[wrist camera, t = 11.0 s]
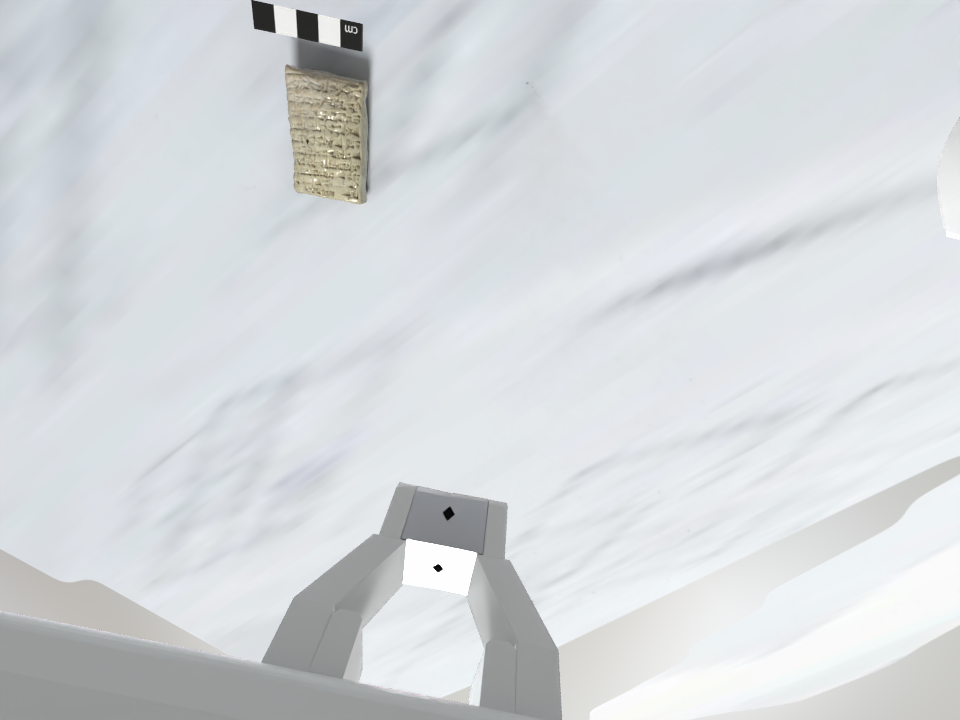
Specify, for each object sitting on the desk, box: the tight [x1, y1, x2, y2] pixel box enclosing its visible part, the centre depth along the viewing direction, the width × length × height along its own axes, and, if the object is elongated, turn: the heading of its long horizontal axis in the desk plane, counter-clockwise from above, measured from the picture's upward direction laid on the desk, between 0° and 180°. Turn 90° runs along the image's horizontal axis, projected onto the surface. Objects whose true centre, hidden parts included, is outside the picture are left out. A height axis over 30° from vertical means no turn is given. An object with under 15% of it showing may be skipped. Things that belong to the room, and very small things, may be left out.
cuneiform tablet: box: [251, 0, 368, 204], centre depth 31 cm, size 7×4×12 cm
